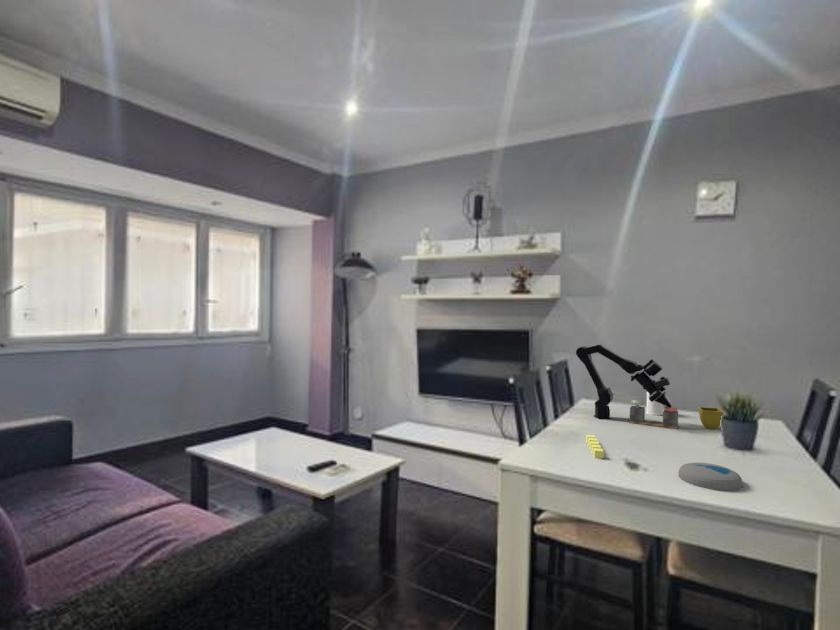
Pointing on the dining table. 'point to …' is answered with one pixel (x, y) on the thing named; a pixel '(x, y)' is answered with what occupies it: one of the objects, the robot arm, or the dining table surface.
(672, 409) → the red button
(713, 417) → the flower pot
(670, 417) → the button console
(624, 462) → the dining table surface
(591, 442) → the yellow ridged bar
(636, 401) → the sage button
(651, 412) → the mug
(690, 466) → the decorative stone
